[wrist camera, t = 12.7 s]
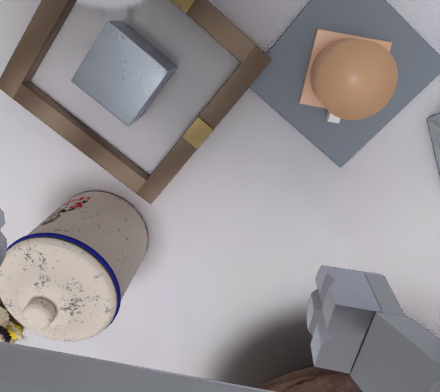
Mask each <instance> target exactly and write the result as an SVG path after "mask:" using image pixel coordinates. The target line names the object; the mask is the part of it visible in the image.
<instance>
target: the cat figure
mask: <svg viewBox="0 0 440 392" xmlns="http://www.w3.org/2000/svg"><path fill="white" fill-rule="evenodd" d="M8 316H9V314H8V313H7V310H6V309H4V308H2V307H1V306H0V341H3V342H8V343H13V344H14V343H15V341H13V339H17V338H19V339H22V337H23V335H22V334H21V332H22V330H21V329H20V326H18V325H16V324H14V323H13V322H11V321H9V318H10V317H8Z"/></svg>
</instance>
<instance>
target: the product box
mask: <svg viewBox="0 0 440 392" xmlns="http://www.w3.org/2000/svg"><path fill="white" fill-rule="evenodd" d="M428 125H429V129H430V134H431V138H432V142H433V147H434V151H435V156H436V160H437V164H438V169H439V173H440V114H438V115H435V116H432V117H430V118H428Z"/></svg>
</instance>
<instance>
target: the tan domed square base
mask: <svg viewBox="0 0 440 392" xmlns="http://www.w3.org/2000/svg"><path fill="white" fill-rule="evenodd" d="M391 45H392V42H387V41H381V40H376V39H370V38H365V37H359V36H354V35H348V34H343V33H337V32H332V31H326V30H321V29H316V33H315V37H314V42H313V46H312V50H311V54H310V58H309V62H308V66H307V70H306V74H305V78H304V82H303V86H302V90H301V94H300V99H299V103H300V104H305V105H310V106H316V107H321V108H326V109H327V110H328V114H327V118H326V120H327V121H328V122H333V123H339V122H340V119H345V120H361V119H365V118H368V117H370V116H372V115H374V114H376V113H377V112H379V111H380V110H381V109H382V108H384V107H385V105H386V104H387V103H388V102H389V101H390V99H391V98H392V96H393V94H394V92H395V89H396V86H397V80H398V71H397V66H396V62H395V60H394V58H393V56H392V55H391V53H390V48H391Z"/></svg>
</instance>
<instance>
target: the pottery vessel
mask: <svg viewBox="0 0 440 392" xmlns="http://www.w3.org/2000/svg"><path fill="white" fill-rule="evenodd" d="M350 375H351V374H348V373H343V372H339V371H334V370H329V369H324V368H320V367H315V366H313V367H308V368H304V369H300V370H297V371H294V372H291V373H288V374H285V375H283V376H280V377H277V378H275V379H273V380H270V381H268V382H266V383H264V384H262V385H261V386H259V387H257V388H259V389H264V390H270V391H275V392H363V391H362V390H361V389H360V388H359V386H358V385H357V384H356V382H355V381H354V380H353V379H352V377H351V376H350Z"/></svg>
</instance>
